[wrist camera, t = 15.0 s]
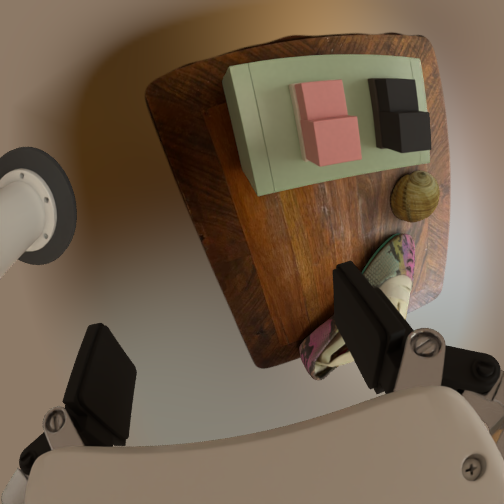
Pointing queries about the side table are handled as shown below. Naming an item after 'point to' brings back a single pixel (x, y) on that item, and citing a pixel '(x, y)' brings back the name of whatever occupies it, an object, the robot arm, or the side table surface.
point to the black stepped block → (398, 116)
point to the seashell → (415, 196)
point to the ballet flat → (379, 275)
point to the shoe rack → (284, 125)
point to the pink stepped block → (324, 123)
